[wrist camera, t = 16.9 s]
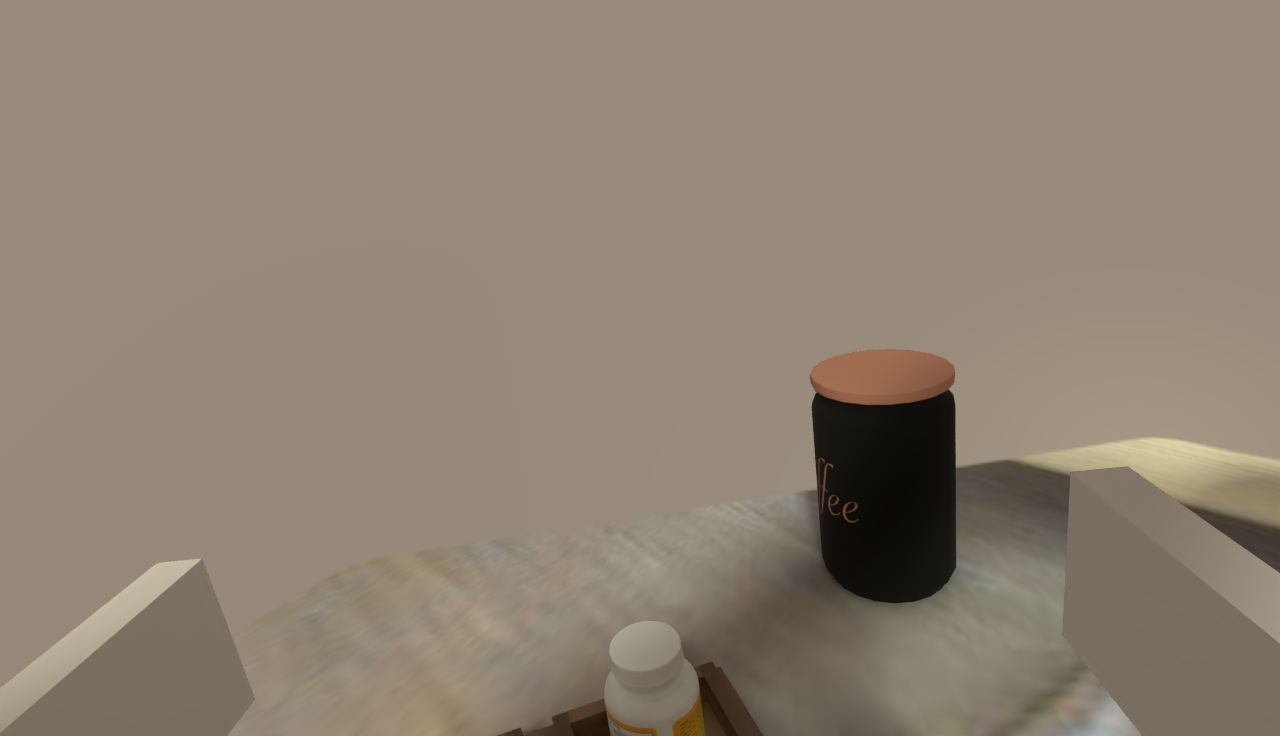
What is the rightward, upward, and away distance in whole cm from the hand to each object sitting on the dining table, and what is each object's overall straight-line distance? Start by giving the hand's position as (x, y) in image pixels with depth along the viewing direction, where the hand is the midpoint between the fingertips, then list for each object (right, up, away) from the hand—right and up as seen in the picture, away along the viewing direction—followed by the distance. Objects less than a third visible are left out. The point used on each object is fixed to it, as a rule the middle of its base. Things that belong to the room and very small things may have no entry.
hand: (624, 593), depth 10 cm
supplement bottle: (+2, -21, +30) cm, 36 cm away
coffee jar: (+21, -14, +48) cm, 54 cm away
